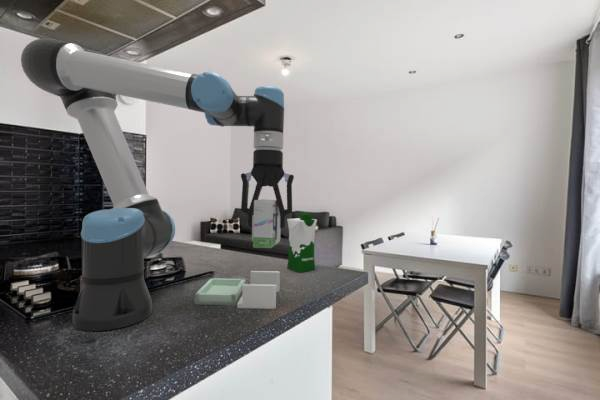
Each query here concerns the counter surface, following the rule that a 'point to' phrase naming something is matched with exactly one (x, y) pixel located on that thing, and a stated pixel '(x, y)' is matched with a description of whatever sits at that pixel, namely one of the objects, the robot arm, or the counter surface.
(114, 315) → the robot arm
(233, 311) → the counter surface
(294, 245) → the milk carton
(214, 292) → the tray
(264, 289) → the bay
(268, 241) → the ink box
